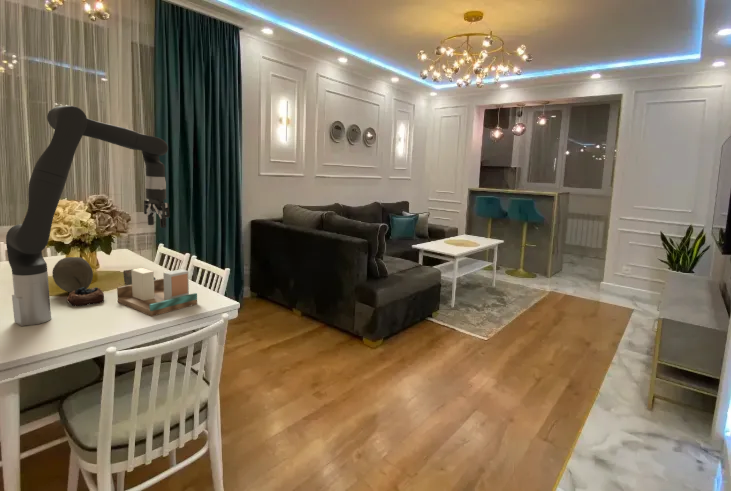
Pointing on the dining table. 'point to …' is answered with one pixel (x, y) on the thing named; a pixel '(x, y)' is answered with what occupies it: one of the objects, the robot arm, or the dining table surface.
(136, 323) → the dining table surface
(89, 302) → the pastry
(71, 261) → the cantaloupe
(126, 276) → the dark brown box
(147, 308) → the wooden tray
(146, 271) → the tea box
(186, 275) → the faced tea box
